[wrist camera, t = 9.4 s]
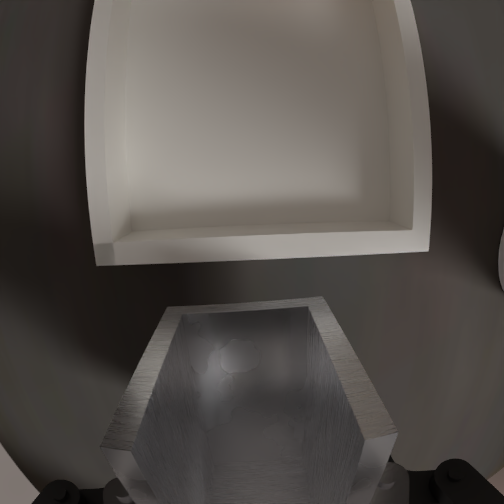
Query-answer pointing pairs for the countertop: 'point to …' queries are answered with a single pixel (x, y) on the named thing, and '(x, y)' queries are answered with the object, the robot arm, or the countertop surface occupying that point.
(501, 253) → the cylindrical container
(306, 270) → the countertop surface
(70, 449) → the countertop surface
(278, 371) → the scoop
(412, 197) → the tray
